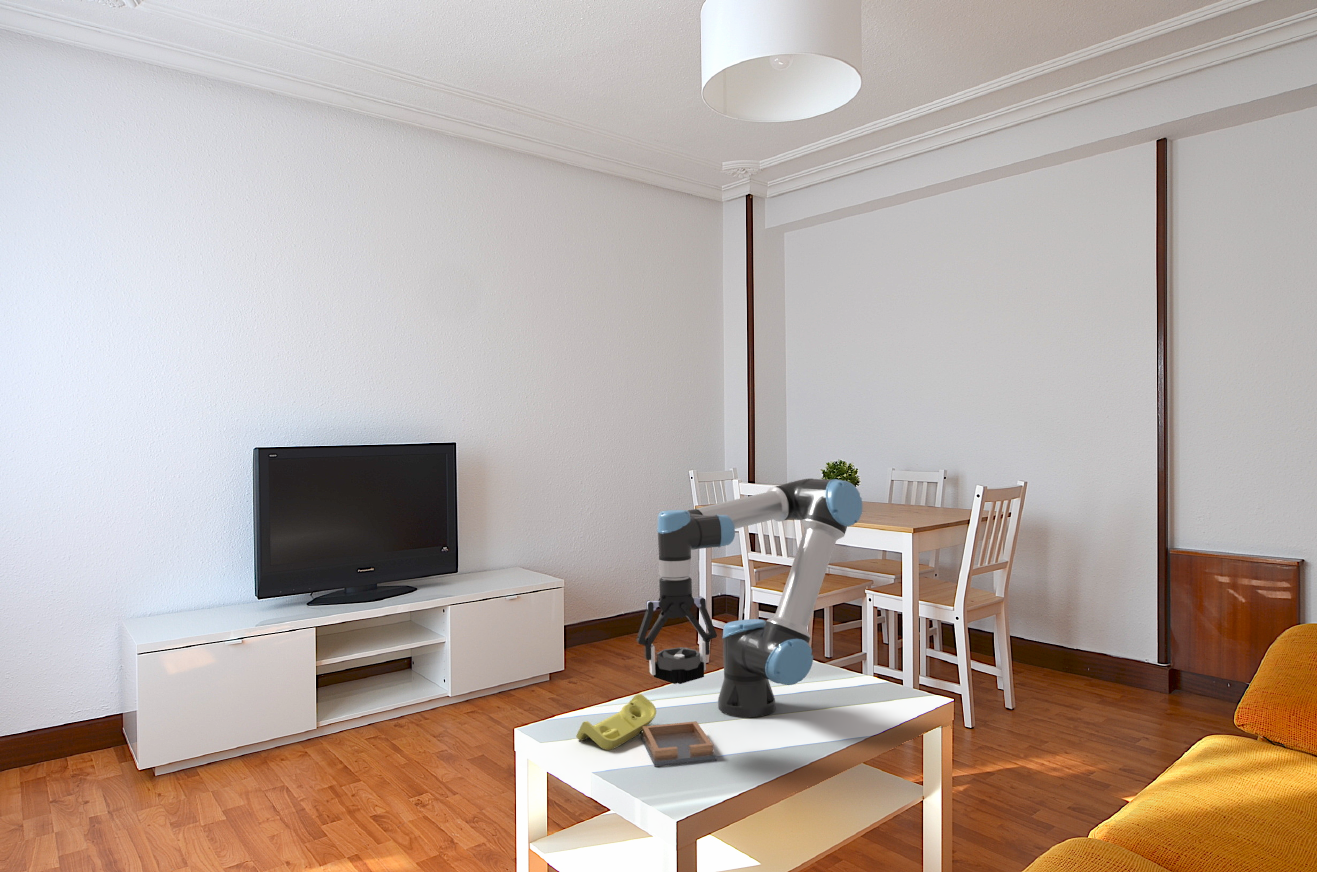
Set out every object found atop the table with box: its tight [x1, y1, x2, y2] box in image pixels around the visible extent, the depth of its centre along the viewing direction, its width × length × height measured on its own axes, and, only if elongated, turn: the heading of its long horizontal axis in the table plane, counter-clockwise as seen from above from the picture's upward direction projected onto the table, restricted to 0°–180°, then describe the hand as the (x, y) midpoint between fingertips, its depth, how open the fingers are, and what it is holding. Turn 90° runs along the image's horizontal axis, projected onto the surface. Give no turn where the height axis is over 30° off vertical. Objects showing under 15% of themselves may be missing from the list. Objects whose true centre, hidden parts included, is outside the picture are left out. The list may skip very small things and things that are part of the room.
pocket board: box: [639, 721, 717, 768], centre depth 186 cm, size 14×18×3 cm
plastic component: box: [576, 693, 657, 751], centre depth 195 cm, size 20×7×10 cm
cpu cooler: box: [653, 647, 705, 685], centre depth 184 cm, size 10×6×10 cm
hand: (677, 671), depth 185 cm, fingers closed on cpu cooler, 11 cm apart
